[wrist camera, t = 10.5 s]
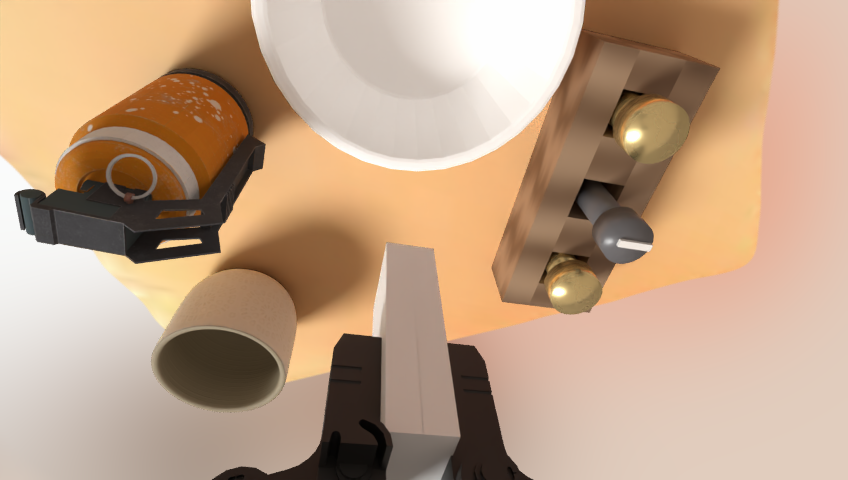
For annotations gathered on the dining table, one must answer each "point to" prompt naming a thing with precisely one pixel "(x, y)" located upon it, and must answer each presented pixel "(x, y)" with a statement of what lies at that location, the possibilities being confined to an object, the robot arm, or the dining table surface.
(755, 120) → the dining table surface
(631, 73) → the mount
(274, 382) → the planter
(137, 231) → the canister
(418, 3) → the bowl
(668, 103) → the knob
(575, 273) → the knob
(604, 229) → the pot knob
